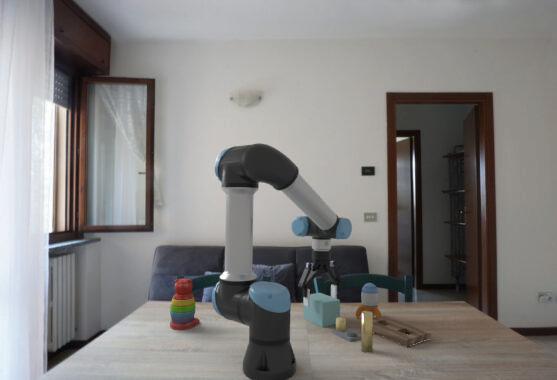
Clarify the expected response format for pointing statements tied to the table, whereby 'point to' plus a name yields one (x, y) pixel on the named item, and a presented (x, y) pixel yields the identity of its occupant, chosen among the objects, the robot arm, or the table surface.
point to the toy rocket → (369, 300)
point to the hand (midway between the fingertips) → (320, 303)
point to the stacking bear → (183, 306)
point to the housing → (322, 309)
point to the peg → (366, 331)
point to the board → (399, 331)
